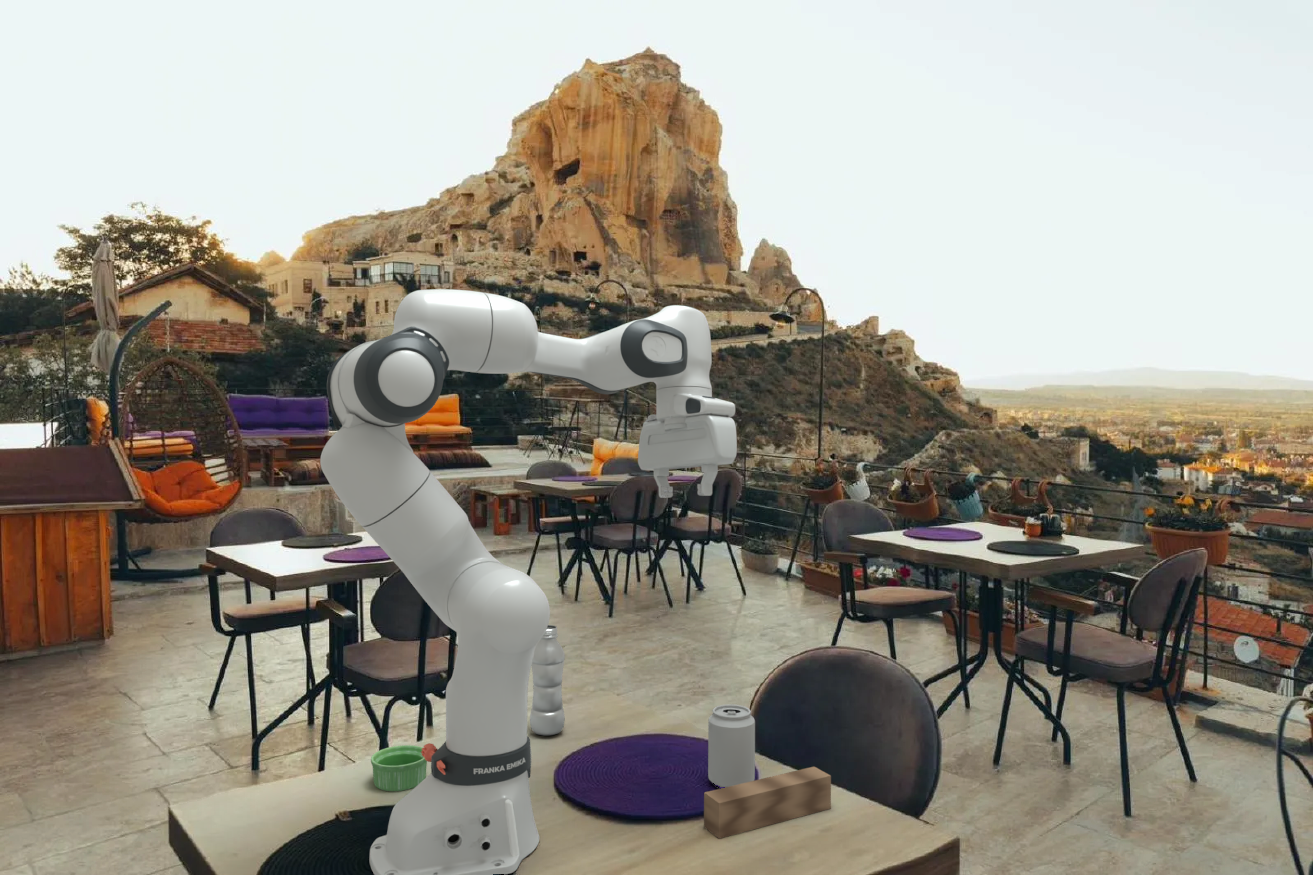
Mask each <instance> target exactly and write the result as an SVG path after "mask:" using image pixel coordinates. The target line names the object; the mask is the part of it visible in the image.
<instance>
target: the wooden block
mask: <svg viewBox="0 0 1313 875" xmlns="http://www.w3.org/2000/svg"><path fill="white" fill-rule="evenodd" d="M831 783H832V775H831V774H829V773H827V772H825V771H823V770H821V769H820V768H818V767H816V766H811V767H806V768H801V769H799V770H793V771H788V772H785V773H781V774H776V775H772V776H768V777H765V778H764V777H763V778H760V779H754V781H751V782H746V783H742V784H738V785H734V786H729V787H725V788H721V789H720V788H717V789H713V790H709V791H705V792H704V793H703V828H705V829H706V830H708V831H709V832H710V833H712V834H713V836H715V837H717V838H718V839H719V840H721V839H723V838H726V837H731V836H734V835H738V834H742V833H745V832H748V831H752V830H757V829H760V828H763V827H767V826H771V825H774V824H779V823H783V822H786V821H789V820H794V819H797V818H801V817H805V816H807V815H812V814H816V813H820V812H823V811H827V810H831V808H832V807H831V806H832V795H831V794H832V784H831Z"/></svg>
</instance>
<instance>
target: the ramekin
mask: <svg viewBox="0 0 1313 875" xmlns="http://www.w3.org/2000/svg"><path fill="white" fill-rule="evenodd" d="M422 748H424V746H423V747H421V746H419V745H410V744H409V745H406V744H405V745H404V744H402V745H395V746H394V745H393V746H390V747H386V748H382V749H380V750H378V751H376V752H375V753H373V754H372V755H371V758H370V763H371V766H372V776H373V777H372V778H373V783H374V786H375V787H376V788H377V789H378V790H381V791H385V792H402V791H407V790H413V789H414V788H415V787H416V786H417V785H418V784H419V783H421V782H422V781H423V780H424V779H425V778H426V777H427V767H428V766H427V765H428V761H426V760H425V758H424V757H423V756H422V753H421V751H422Z"/></svg>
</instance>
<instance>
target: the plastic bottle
mask: <svg viewBox="0 0 1313 875" xmlns="http://www.w3.org/2000/svg"><path fill="white" fill-rule="evenodd" d="M558 637H559V634H558V627H557V625H554V624H548V627H547V629H546V631H545V633H544V635H543V636H542V638H541V639H540V640H539V641H538V642H537V644H536V648H535V652H534V656H533V660H532V665H531V671H532V685H533V686H532V688H533V689H532V691H533V692H532V704H531V709H530V715H529V726H530V729H531V730H532V732H533V733H534V734H535V735H540V736H554V735H557V734H559V733H561V731H562V730H563V729H564V726H565V722H566V720H565V711H564V707H563V690H562V689H563V688H562V683H563V673H564V666H565V660H566V659H565V657H566V654H565V651H564V648H563V647H562V645H561V644H560V643H559V641H558V640H557V639H558Z"/></svg>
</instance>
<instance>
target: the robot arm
mask: <svg viewBox="0 0 1313 875" xmlns="http://www.w3.org/2000/svg"><path fill="white" fill-rule="evenodd" d="M712 363H713V361H712V339H711V330H710V326H709V323H708V319H707V317H706V315H705V314H704V313H703V312H702V311H701V310H699V309H697V308H695V307H693V306H690V305H680V304H679V305H678V304H671V305H667V306H665V307H662V309H661V310H660V311H658V312H657V313H654V314H652V315H650V316H647V317H645V318H641V319H636V320H635V319H634V320H632V321H629V322H627V323H623V324H621V325H618V326H617V327H614V328H611V329H609V330H606V331H603V332H598V333H595V334H592V335H589V336H586V337H584V338H579V339H578V338H571V337H566V336H561V335H555V334H549V333H544V332H540V331H539V329H538V322H537V321H536V318H535V316H534V314H533V312H532V310H530V308H529V307H528V306H527V305H526V304H525V303H524V302H520V301H518V300H515V299H513V298H510V297H507V296H505V295H504V296H503V295H499V294H494V293H489V292H488V293H487V292H482V291H475V290H465V289H450V288H449V289H446V288H441V289H439V288H435V289H432V288H431V289H418V290H414V291H412V292H409V293H408V294H406V296H404V298H402V300H401V301H400V303H399V305H398V307H397V309H396V311H395V315H394V319H393V330H392V332H391V334H390V335H387V336H385V337H382V338H380V339H376V340H370V341H366V342H363V343H361V344H359V345H357V346H355V347H354V348H352V349H350V350H347V351H346V352H345V353H342V354H341V356H339V357H338V358H337V359H336V361H335V362H334V363H333V365H332V366H331V368H330V370H329V372H328V375H327V380H326V393H327V398H328V402H329V406H330V411H331V417H332V420H333V421H332V422H333V426H334V428H335V429H336V430H337V431H336V432H335V433H334V434H333V435H331V437H330V438H329V440H327V442H326V443H325V445H324V447H323V448H322V451H321V455H320V461H319V462H320V469H321V471H322V473H323V474H324V476H325V478H326V479H327V481H328V483H329V485H330V487H332V489H333V491H334V492H335V494H336V496H337V497H338V499H339V500H340V502H341V503H342V504H343V506H345V508H346V510H348V512H349V513H350V514H351V516H352V518H354V519H355V521H356V522H357V523H358V524H359V525H360V526H361V528H363V530H364V531H365V532H366V533H367V534H368V536H370V538H371V539H372V540H374V542H375V543H376V544H377V545H378V546H379V547H380V549H382V550H383V551H384V553H385V554H386V555H387V556H388V557H389V558H390V560H391V561H392V562H393V563H394V564H395V565H396V566H397V567H398V568H399V569H400V571H401V572H402V573H403V574H404V576H405V577H406V578H407V580H408V581H409V582H410V584H412V586H413V587H414V588H415V590H416V591H417V593H418V594H419V595H420V597H421V598H422V599H423V600H424V602H425V603H427V605H428V606H429V607H430V609H431V610H432V611H433V613H435V615H436V616H437V617H438V618H439V619H440V620H441V622H443V624H445V625H446V626H447V627H449V628H450V629H451V630H453V631H454V632H456V636H457V653H456V658H455V662H454V666H453V668H454V669H453V671H452V676H451V678H450V679H449V681H448V682H447V685H446V688H445V741H444V743H442V745H440V746H439V748H437V747H436V745H434V743H432V742H431V743H426V744H424V745H423V748H422V751H421V753H422V756H423V757H424V758H425V760H426V761H427V763H428V762H429V763H430V769H431V770H430V771H431V772H430V774H429V775H426V778H425V779H424V780H423V781H422V782H421V783H419V784H418V785H417V786H416V787H414V788H412V789H410V791H409V792H408V793H406V795H404V796H403V797H402V798H401V799H399V800H398V801H397V802H396V803H395V805H394V806H393V808H392V811H391V813H390V816H389V821H388V824H387V832H386V834H385V835H382V836H379V837H377V838H376V839H375V840H374V841H373V843H372V844H371V846H370V848H369V857H368V858H369V859H368V860H369V866H370V869H371V871H372V872H373V875H493V874H504V875H508V874H512V873H514V872H515V871H516V870H517V869H518V868H519V866H520V863H521V862H522V861H523V859H525V858H526V857H527V856H529V855H530V854H531V853H532V852H533V851H535V849H536V848H537V847H538V845H539V843H540V842H539V841H540V833H539V832H538V829H537V828H538V827H537V824H536V821H535V816H534V811H533V806H532V798H531V792H530V791H531V789H530V780H529V779H530V778H531V771H532V770H531V768H532V747H531V738H530V736H528V706H529V705H528V702H529V701H528V697H529V696H528V692H529V680H530V676H531V675H530V674H531V670H532V666H531V665H532V660H533V656H534V652H535V648H536V644H537V642H538V641H539V640H540V639H541V638H542V636H543V635H544V633H545V631H546V629H547V627H548V625H550V619H551V618H550V616H551V608H550V603H549V599H548V597H547V595H546V594H545V592H544V591H543V589H542V588H541V587H540V586H539V584H538V583H537V582H536V581H535V580H534V579H533V578H532V577H531V576H529V575H528V574H527V573H525V572H523V571H521V570H519V569H517V568H513V567H511V566H508V565H505V563H502V562H501V561H499V560H498V559H497V558H495V557H494V556H493V555H492V554H491V552H490V551H488V549H487V548H486V546H485V545H484V543H483V542H482V541H481V539H480V537H479V536H478V534H477V533H476V531H475V529H474V527H473V526H472V524H471V522H470V521H469V517H468V514H467V513H466V512H465V511H464V509H463V508H462V507H461V506H460V505H459V504H458V503H457V501H456V499H454V497H453V496H452V495H451V494H450V492H448V490H447V489H446V488H445V487H444V485H442V483H441V482H440V481H439V480H438V479H437V477H436V476H435V475H434V473H432V472H431V470H430V469H429V468H428V467H427V465H426V464H425V463H424V462H423V461H422V460H421V459H420V458H419V457H418V456H417V455H416V454H415V453H414V450H413V448H412V447H411V444H410V443H409V440H408V438H407V434H406V424H408V423H413V422H414V421H416V420H419V419H421V418H422V417H423V416H426V415H427V413H429V412H430V411H431V410H432V408H433V407H434V406H435V405H436V403H437V401H438V400H439V398H440V395H441V392H442V389H443V385H444V380H445V378H446V375H447V373H448V371H460V372H466V373H467V372H470V373H476V374H477V373H478V374H493V375H495V374H496V375H497V374H500V375H501V374H502V375H503V374H514V373H525V372H526V373H530V374H536V375H537V374H538V375H544V376H552V377H556V378H565V379H568V380H571V381H572V380H573V381H575V382H577V383H579V384H581V385H582V386H584V387H586V388H588V389H589V390H591V391H593V392H595V393H598V394H601V395H614V394H616V393H619V392H621V391H623V390H626V389H628V388H632V387H635V386H636V387H637V386H640V385H642V384H647V383H650V382H652V383H654V384H655V386H656V390H655V391H656V393H655V394H656V395H655V396H656V399H655V400H656V405H655V406H656V412H655V413H656V414H650V415H648V416H647V418H646V419H645V421H644V422H643V424H642V428H641V431H640V435H639V441H638V442H639V443H638V451H637V452H638V454H637V455H638V456H637V464H638V466H639V468H640V470H641V471H653V479H654V480H655V482H656V485H657V487H658V497H659V498H660V499H663V498H665V499H667V498H672V497H673V496H674V494H673V491H674V489H673V486H670V482H669V480H668V477H669V476H670V470H677V469H687V468H688V469H689V468H698V467H700V468H701V473H703V474H702V478H701V482H700V483H697V484H696V485H697V487H696V488H697V495H698V496H699V497H700V496H701V497H704V496H705V497H706V496H707V497H708V496H712V495H713V484H714V482H715V480H716V477H717V475H718V473H719V472H718V470H719V468H718V467H719V466H721V465H732V464H733V463H734V461H735V459H736V457H737V452H738V451H737V448H738V446H737V444H738V442H737V440H738V439H737V426H736V422H735V420H734V419H733V418H732V417H734V416H735V414H736V404H735V403H733V402H732V401H727V400H724V399H721V398H716V397H713V392H712V391H713V388H712V384H711V379H710V371H711V367H712Z"/></svg>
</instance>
